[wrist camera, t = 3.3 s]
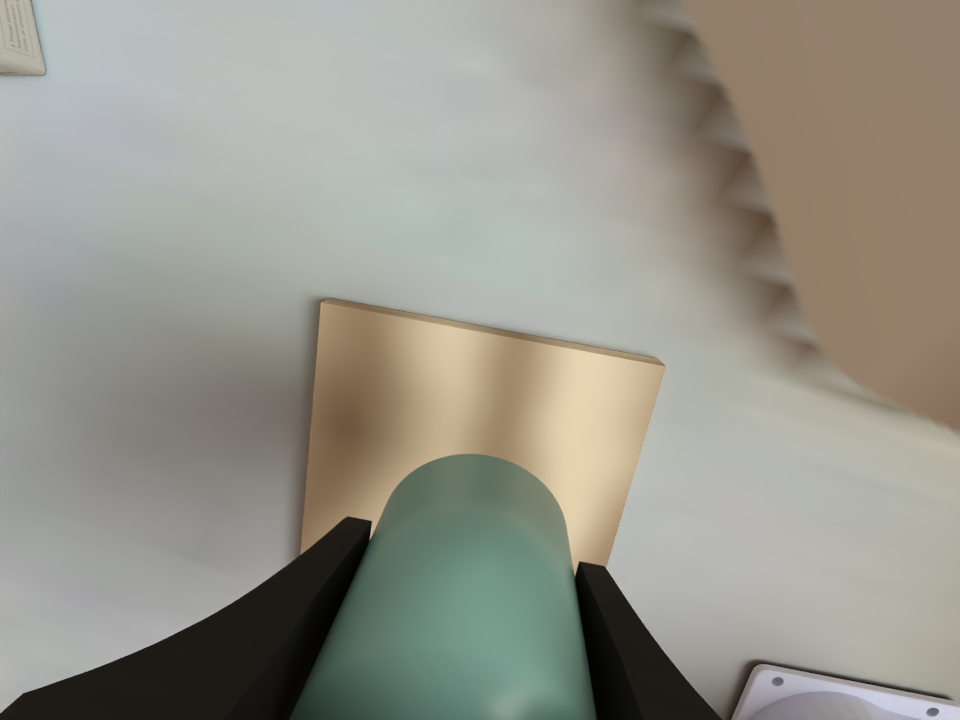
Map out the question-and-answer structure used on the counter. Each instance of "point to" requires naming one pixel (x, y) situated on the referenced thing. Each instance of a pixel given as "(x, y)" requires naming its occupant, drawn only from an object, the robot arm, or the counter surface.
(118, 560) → the counter surface
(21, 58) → the supplement box
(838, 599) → the counter surface
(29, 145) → the counter surface
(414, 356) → the wooden board
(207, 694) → the robot arm
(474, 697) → the teal cylinder
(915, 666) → the counter surface
